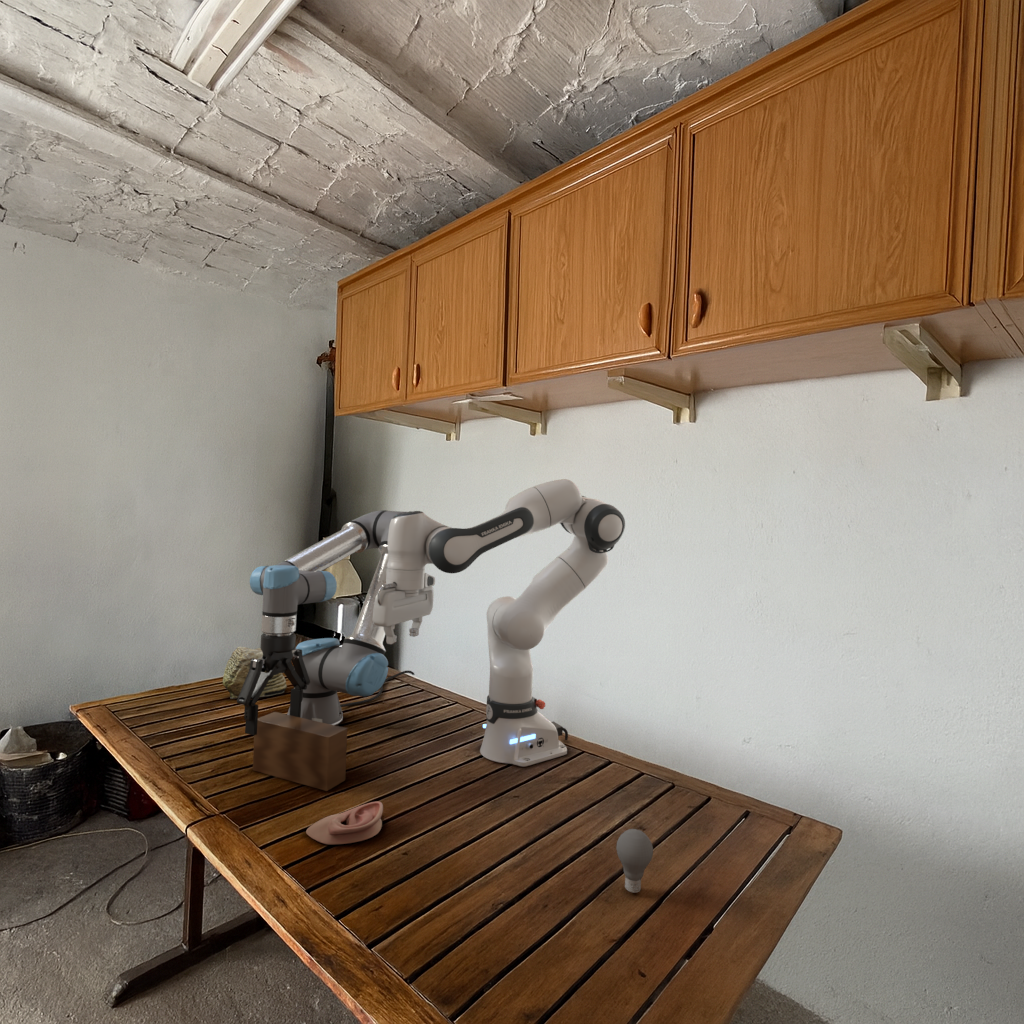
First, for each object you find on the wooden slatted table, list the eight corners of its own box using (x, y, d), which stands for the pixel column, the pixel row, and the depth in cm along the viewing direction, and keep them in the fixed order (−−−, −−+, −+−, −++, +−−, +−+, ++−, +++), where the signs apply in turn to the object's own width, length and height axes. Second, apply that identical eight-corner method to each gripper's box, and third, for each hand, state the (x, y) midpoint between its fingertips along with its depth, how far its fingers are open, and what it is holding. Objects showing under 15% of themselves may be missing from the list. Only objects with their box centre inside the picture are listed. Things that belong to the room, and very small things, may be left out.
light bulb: (610, 879, 108) (613, 822, 108) (644, 879, 109) (647, 822, 109) (619, 902, 102) (622, 840, 102) (655, 901, 103) (658, 840, 103)
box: (252, 770, 145) (254, 719, 145) (272, 760, 151) (274, 711, 150) (326, 791, 136) (329, 737, 136) (345, 780, 142) (347, 728, 142)
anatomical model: (298, 818, 116) (328, 791, 128) (297, 839, 116) (327, 810, 128) (365, 829, 114) (390, 800, 125) (364, 851, 114) (389, 820, 125)
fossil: (218, 695, 195) (220, 647, 195) (278, 685, 208) (279, 640, 207) (228, 703, 189) (230, 653, 188) (289, 692, 201) (290, 645, 201)
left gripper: (248, 644, 133) (243, 745, 133) (327, 626, 156) (323, 713, 156) (222, 639, 136) (217, 738, 136) (303, 623, 159) (299, 707, 159)
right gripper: (391, 586, 137) (388, 650, 137) (438, 577, 155) (436, 633, 156) (366, 583, 139) (364, 646, 139) (416, 575, 158) (414, 630, 158)
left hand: (273, 725), depth 146 cm, fingers open, 13 cm apart
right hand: (402, 639), depth 148 cm, fingers open, 8 cm apart
